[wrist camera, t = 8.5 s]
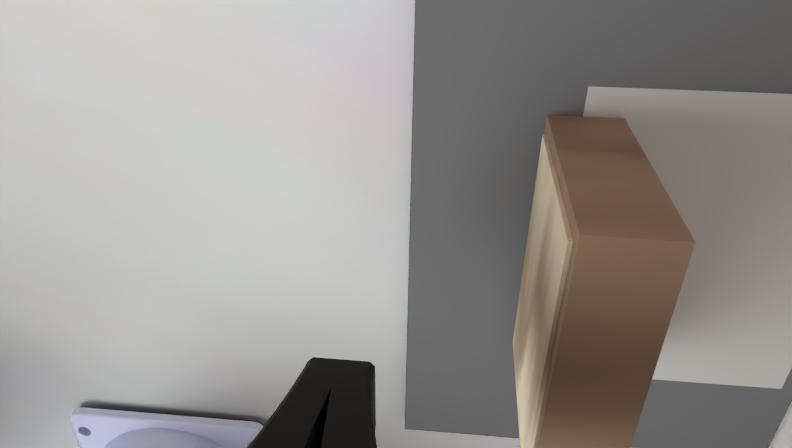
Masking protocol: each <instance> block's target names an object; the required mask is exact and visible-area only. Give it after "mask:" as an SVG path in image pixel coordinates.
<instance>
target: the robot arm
mask: <svg viewBox="0 0 792 448" xmlns="http://www.w3.org/2000/svg"><path fill="white" fill-rule="evenodd" d="M70 422H71V424H72V427H73V429H74V432H75V434H76V437H77V439H78V442H79V445H80V447H81V448H377V445H376V439H375V425H376V420H375V366H374V365H373V364H371V363H370V362H365V361H352V360H339V359H326V358H312V359H310V360H309V361H308V362H307V364H306V366H305V367H304V369H303V371H302V372H301V374H300V375H299V377H298V379H297V380H296V382H295V383H294V385H293V386H292V388H291V389H290V391H289V392H288V394H287V395H286V397H285V398H284V399H283V401H282V402H281V404H280V405H279V407H278V408H277V409H276V411H275V412H274V413H273V415H272V416H271V417H270V419H269V420H268V421H267V423H266V424H265V425H264V426H263V425H262V424H260V423H258V422H252V421H240V420H228V419H216V418H204V417H193V416H181V415H169V414H157V413H145V412H133V411H121V410H109V409H97V408H85V407H82V408H77V409H75V411H74V412H73V413H72V415H71V416H70Z"/></svg>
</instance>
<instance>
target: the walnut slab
mask: <svg viewBox="0 0 792 448" xmlns="http://www.w3.org/2000/svg"><path fill="white" fill-rule="evenodd" d="M695 243H696V242H695V240H694V239H693V237H692V235H691V233H690V232H689V230H688V228H687V226H686V225H685V223H684V221H683V219H682V218H681V216H680V214H679V212H678V211H677V209H676V207H675V206H674V204H673V202H672V200H671V199H670V197H669V195H668V193H667V192H666V190H665V188H664V186H663V185H662V183H661V181H660V179H659V178H658V176H657V174H656V172H655V171H654V169H653V167H652V165H651V164H650V162H649V160H648V158H647V157H646V155H645V153H644V151H643V150H642V148H641V146H640V144H639V143H638V141H637V139H636V137H635V136H634V134H633V132H632V130H631V129H630V127H629V125H628V123H627V122H626V120H625V119H621V118H601V117H580V116H560V115H547V118H546V125H545V132H544V135H542V142H541V148H540V155H539V162H538V169H537V176H536V183H535V190H534V197H533V204H532V211H531V217H530V224H529V231H528V238H527V245H526V252H525V259H524V266H523V273H522V280H521V286H520V293H519V300H518V307H517V314H516V321H515V328H514V335H513V354H514V368H515V382H516V395H517V409H518V423H519V437H520V448H630V447H631V444H632V441H633V437H634V434H635V431H636V428H637V425H638V422H639V419H640V415H641V412H642V409H643V406H644V403H645V400H646V397H647V393H648V390H649V387H650V384H651V381H652V378H653V375H654V372H655V368H656V365H657V362H658V359H659V356H660V353H661V350H662V346H663V343H664V340H665V337H666V334H667V331H668V328H669V324H670V321H671V318H672V315H673V312H674V309H675V306H676V302H677V299H678V296H679V293H680V290H681V287H682V284H683V280H684V277H685V274H686V271H687V268H688V265H689V262H690V258H691V255H692V252H693V249H694V246H695Z"/></svg>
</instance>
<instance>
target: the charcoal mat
mask: <svg viewBox="0 0 792 448" xmlns="http://www.w3.org/2000/svg"><path fill="white" fill-rule="evenodd" d="M547 115H560V116H580V117H601V118H621V119H625V120H626V122H627V123H628V125H629V127H630V129H631V130H632V132H633V134H634V136H635V137H636V139H637V141H638V143H639V144H640V146H641V148H642V150H643V151H644V153H645V155H646V157H647V158H648V160H649V162H650V164H651V165H652V167H653V169H654V171H655V172H656V174H657V176H658V178H659V179H660V181H661V183H662V185H663V186H664V188H665V190H666V192H667V193H668V195H669V197H670V199H671V200H672V202H673V204H674V206H675V207H676V209H677V211H678V212H679V214H680V216H681V218H682V219H683V221H684V223H685V225H686V226H687V228H688V230H689V232H690V233H691V235H692V237H693V239H694V240H695V242H696V243H695V246H694V249H693V252H692V255H691V258H690V262H689V265H688V268H687V271H686V274H685V277H684V280H683V284H682V287H681V290H680V293H679V296H678V299H677V302H676V306H675V309H674V312H673V315H672V318H671V321H670V324H669V328H668V331H667V334H666V337H665V340H664V343H663V346H662V350H661V353H660V356H659V359H658V362H657V365H656V368H655V372H654V375H653V378H652V381H651V384H650V387H649V390H648V393H647V397H646V400H645V403H644V406H643V409H642V412H641V415H640V419H639V422H638V425H637V428H636V431H635V434H634V437H633V441H632V444H631V447H630V448H768V447H769V445H770V443H771V441H772V439H773V437H774V435H775V433H776V431H777V429H778V427H779V425H780V423H781V421H782V419H783V417H784V415H785V413H786V411H787V409H788V407H789V405H790V403H791V401H792V0H415V34H414V76H413V117H412V159H411V200H410V241H409V283H408V324H407V366H406V407H405V429H413V430H425V431H438V432H450V433H462V434H474V435H486V436H498V437H510V438H520V437H519V423H518V409H517V395H516V382H515V368H514V354H513V335H514V328H515V321H516V314H517V307H518V300H519V293H520V286H521V280H522V273H523V266H524V259H525V252H526V245H527V238H528V231H529V224H530V217H531V211H532V204H533V197H534V190H535V183H536V176H537V169H538V162H539V155H540V148H541V142H542V135H544V132H545V125H546V118H547Z"/></svg>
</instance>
